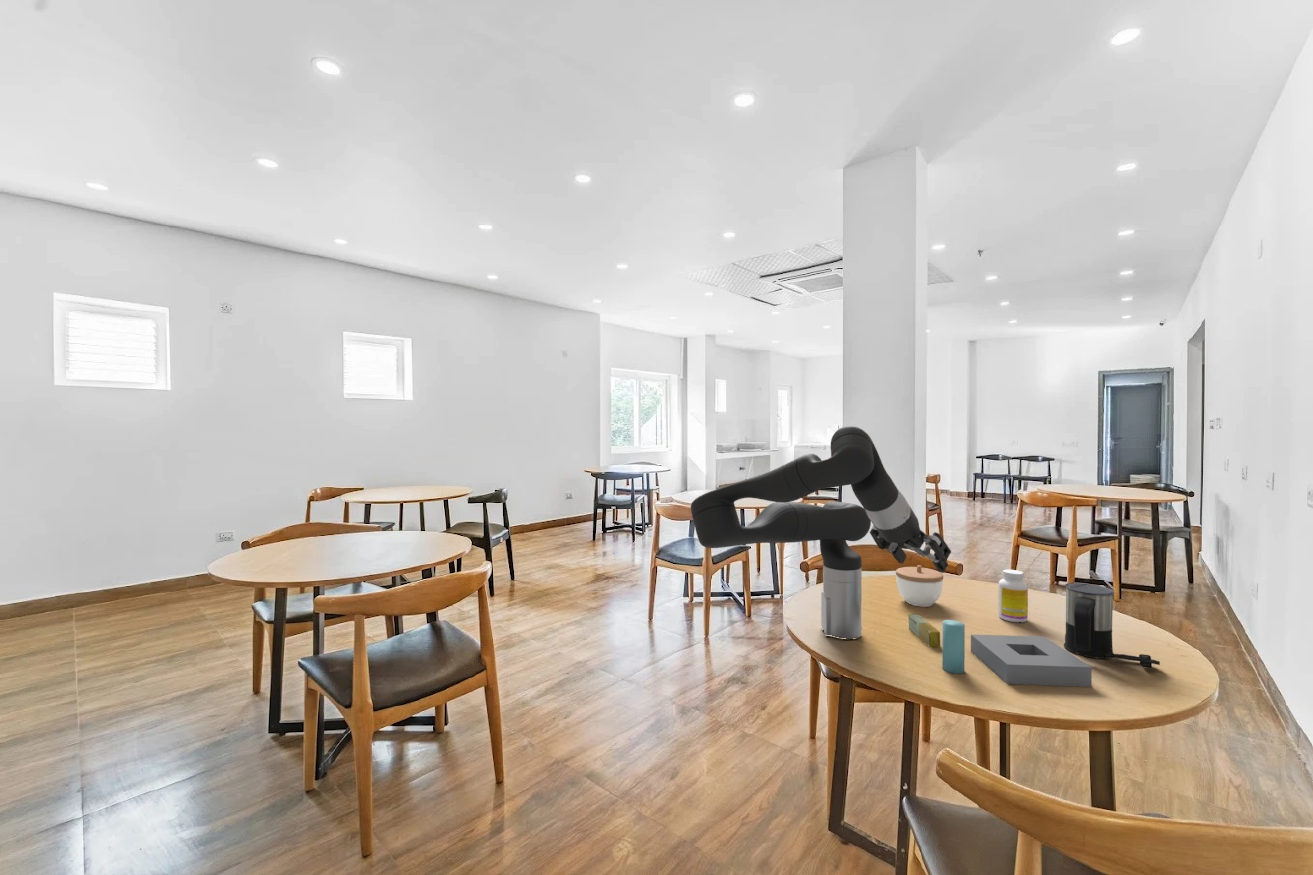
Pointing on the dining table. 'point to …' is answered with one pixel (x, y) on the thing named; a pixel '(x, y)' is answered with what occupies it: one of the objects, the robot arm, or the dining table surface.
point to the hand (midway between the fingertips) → (922, 564)
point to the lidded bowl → (919, 585)
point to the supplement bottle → (1013, 597)
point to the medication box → (924, 630)
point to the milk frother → (1093, 623)
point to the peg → (953, 646)
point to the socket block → (1030, 660)
